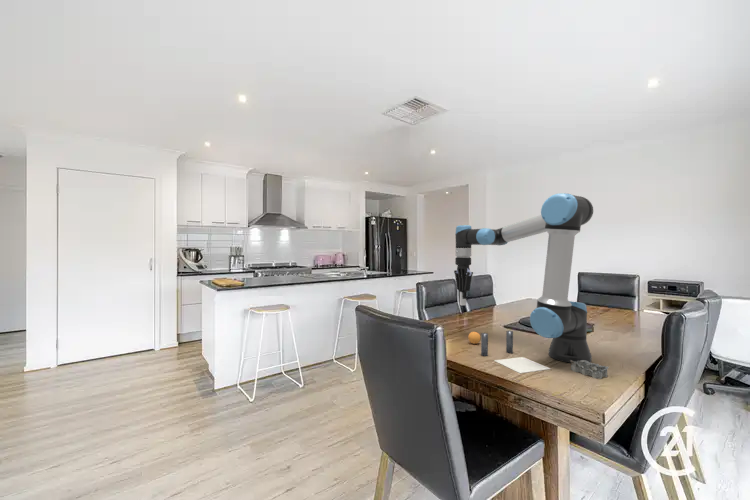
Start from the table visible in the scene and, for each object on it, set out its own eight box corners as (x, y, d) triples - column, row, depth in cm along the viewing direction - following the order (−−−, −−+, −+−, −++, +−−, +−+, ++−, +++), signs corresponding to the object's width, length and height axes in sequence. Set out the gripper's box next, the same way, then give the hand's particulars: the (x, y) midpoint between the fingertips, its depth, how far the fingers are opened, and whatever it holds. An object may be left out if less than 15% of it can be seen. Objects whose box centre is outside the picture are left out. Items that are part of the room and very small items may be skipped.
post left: (489, 356, 139) (489, 334, 139) (483, 356, 138) (483, 334, 138) (485, 354, 141) (485, 332, 141) (479, 354, 141) (480, 333, 141)
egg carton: (567, 370, 124) (567, 359, 124) (580, 367, 127) (580, 356, 127) (598, 380, 114) (598, 368, 114) (610, 377, 118) (610, 365, 118)
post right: (514, 353, 143) (514, 331, 143) (509, 353, 142) (509, 332, 142) (509, 351, 145) (510, 330, 145) (504, 351, 145) (505, 330, 145)
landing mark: (550, 369, 124) (550, 368, 124) (520, 373, 120) (520, 372, 120) (522, 357, 137) (522, 356, 137) (494, 360, 133) (494, 360, 133)
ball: (483, 344, 155) (483, 332, 155) (472, 345, 153) (472, 333, 153) (475, 341, 160) (475, 330, 160) (465, 342, 159) (465, 330, 159)
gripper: (449, 256, 171) (449, 303, 171) (464, 257, 158) (463, 307, 158) (462, 256, 173) (462, 302, 173) (477, 257, 161) (477, 306, 161)
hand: (462, 305), depth 166 cm, fingers closed
